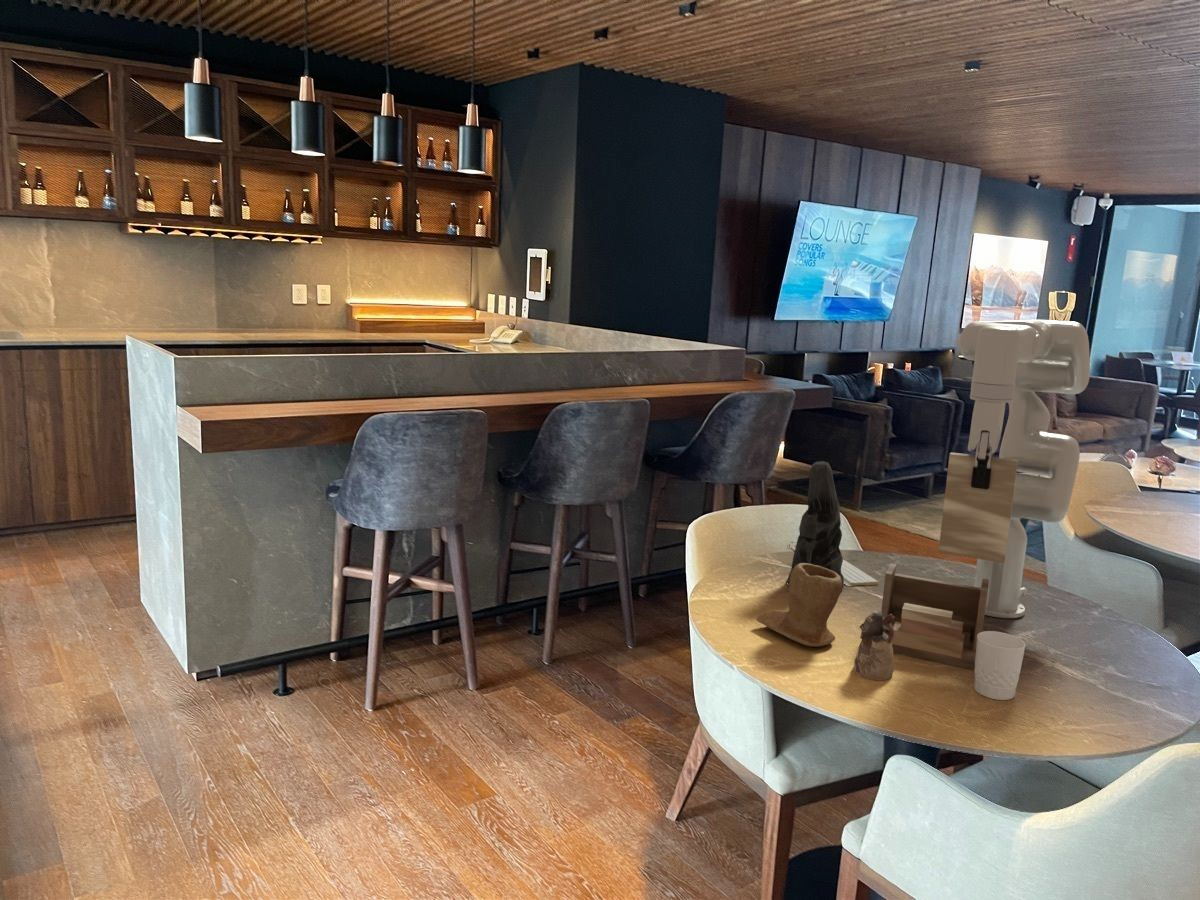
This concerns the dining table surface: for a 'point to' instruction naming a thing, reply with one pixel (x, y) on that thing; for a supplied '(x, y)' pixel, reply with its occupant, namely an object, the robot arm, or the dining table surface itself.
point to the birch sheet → (977, 509)
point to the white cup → (998, 664)
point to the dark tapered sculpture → (820, 524)
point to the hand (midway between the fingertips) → (980, 486)
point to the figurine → (875, 648)
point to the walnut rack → (938, 595)
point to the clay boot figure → (807, 606)
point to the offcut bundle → (929, 631)
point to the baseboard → (853, 574)
